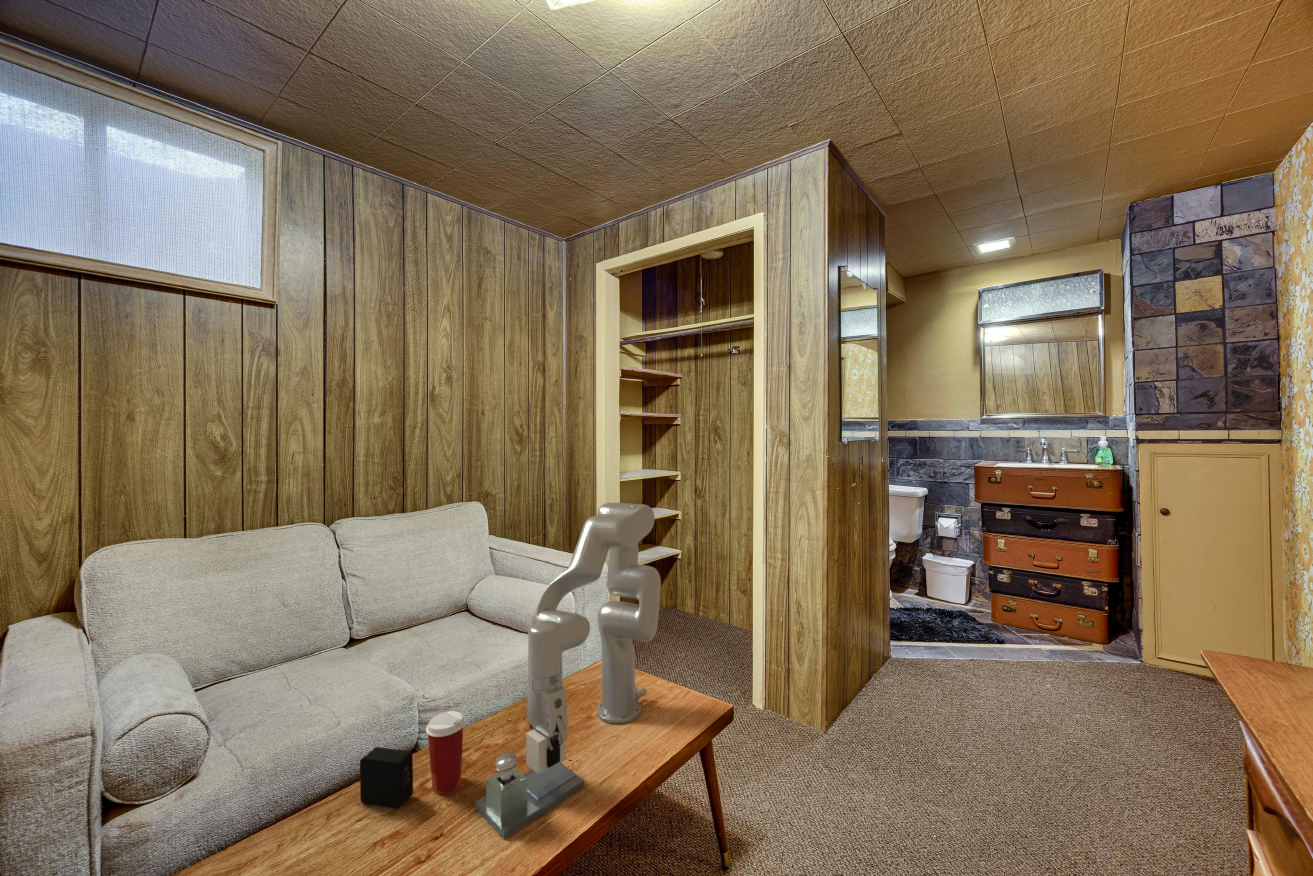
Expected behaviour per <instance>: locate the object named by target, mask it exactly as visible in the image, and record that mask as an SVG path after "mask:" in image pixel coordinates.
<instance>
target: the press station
mask: <svg viewBox="0 0 1313 876" xmlns="http://www.w3.org/2000/svg"><path fill="white" fill-rule="evenodd" d="M584 787H585V779H584V778H582V777H581V776H579V775H578V774H577V773H575V772H574V771H572V770H571V769H570V768H569V767H567V766H566V765H565V764H563V763H562V762H560V763H558V764H556V765H554V766H553V767H551V768H549V769H547V770H546V771H544V772H542V773H540V774H538V773H537V772H535V771H534V770H533V769H532V768H531V769H530V770H528V771H526V772H525V773H522V772H520V770H518V769H517V768H516V766H515V767H514V768H513V769H512V781H511V782H509V783H507V784H506V785H504V786H503V785H502V784H501V771H498V772H496V773H495V774H493V775H491V776H490V777H487V778H486V779H485V790H486V791H485V792H486V793H485V794H486V795H485V796H483V797H480V798H479V799H477V800H476V801H475V802H474V804H475V807H474V808H475V810H476V811H477V812H478V813H479V814H480V815H481V816H482V818H483V819H484V820H485V821H486V822H487V823H488V825H490V826H491V827H492V828H493V830H495V832H496V833H498V835H499V836H500V837H501V838H502V839H503V840H505V839H507V838H508V837H510V836H512V835H514V833H516V832H518V831H519V830H521V829H522V828H524V827H525V826H527V825H528V824H530V823H532V822H533V821H535V820H536V819H537V818H539V817H540V816H543V815H544V814H545V813H547V812H548V811H550V810H551V809H553V808H554V807H556V806H557V805H559V804H561V803H562V802H564V801H565V800H566V799H568V798H570V797H571V796H573V795H574V794H576V793H577V792H579V791H580V790H581V789H583V788H584Z"/></svg>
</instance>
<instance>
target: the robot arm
mask: <svg viewBox="0 0 1313 876" xmlns="http://www.w3.org/2000/svg"><path fill="white" fill-rule="evenodd" d="M654 525H655V511H654V510H653V509H652V508H651V506H649V505H646V504H644V503H643V504H642V503H628V502H627V503H626V502H607V503H604V504H601V505H600V506H599V507H598V510H597V515H593V516H590V517H589V518H588V519H587V518H586V520H585V522H584V524H583V527H582V529H581V532H580V534H579V537H578V540H577V543H576V546H575V549H574V552H573V554H572V556H571V560H570V562H569V565H568V567H567V568H565V570H563V571H562V572H561V573H560V574H558V576H556V577H555V578H554V579H553V580H552V581H551V583H549V584H548V585H547V587H546V588H545V589H544V590H543V591H542V593H541V596H540V597H539V600H538V602H537V605H536V608H535V610H534V613H533V617H532V622H531V626H530V627H529V629H528V633H527V636H528V637H527V639H528V640H527V641H528V644H527V647H528V650H527V652H528V658H527V659H528V661H527V662H528V665H527V666H528V689H527V699H526V700H527V701H526V714H525V717H526V719H527V722H528V725H529V728H530V731H532V730H534V729H537V730H538V731H540V732H541V733H543V734H544V735H546V736H547V741H548V749H547V767H548V768H550V767H552V766H553V765H555V764H557V763H559V762H560V746H561V745H562V743H563V742H564V741H565V742H566V741H567V740H568V736H567V733H566V730H568V726H569V725H568V722H569V721H568V706H567V697H566V691H565V687H564V686H563V652H565V651H568V650H572V649H575V648H577V647H579V646H581V645H582V644H584V642H585V641H586V640H587V638H588V637H589V635H590V631H591V625H590V621H589V620H588V619H587V617H586V616H584V615H582V614H580V613H575V612H568V611H563V610H557V609H558V607H559V604H560V603H561V601H562V600H563V599H564V598H565V597H566V596H567V595H568V594H570V593H571V592H572V591H574V590H576V589H579V588H581V587H583V586H586V585H589V584H592V583H594V582H596V581H598V580H599V579H600V578H601V575H602V571H603V569H604V565H605V563H606V560H607V556H608V553H609V556H608V557H609V559H608V567H607V575H606V577H607V578H606V589H607V591H608V593H609V594H611V595H613V596H615V597H621V598H625V599H626V598H627V599H635V600H638V603H632V602H627V601H619V600H611V601H607V602H604V603H603V604H602V605H601V607H599V610H598V612H597V625H598V631H599V635H600V643H601V690H602V691H601V693H602V694H601V696H602V698H601V702H600V703H599V704H598V706H597V708H596V712H597V714H596V715H597V717H598V718H599V719H600V720H601V721H603V722H605V723H609V724H625V723H629V722H632V721H633V720H635V719H637V718H639V716H640V715H641V712H642V707H641V703H640V702H639V700H640V698H641V697H643V696H645V695H648V694H647V693H648V691H647V689H646V687H642V688H640V689H639V690H638V688H637V687H636V659H635V658H636V653H635V647H634V642H633V641H639V642H650V641H652V640H653V638H654V637H655V635H656V633H657V630H658V626H659V625H658V624H659V616H660V615H659V613H660V602H661V589H662V581H661V575H660V573H659V571H658V569H656V568H655V567H653V566H650V565H643V564H639V542H640V541H642V540H643V539H644V538H646V536H648V534H649V533H651V531H652V529H653V527H654ZM555 735H556V740H554V741H553V742H552V737H553V736H555ZM560 763H561V762H560Z"/></svg>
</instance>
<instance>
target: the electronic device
mask: <svg viewBox="0 0 1313 876" xmlns="http://www.w3.org/2000/svg"><path fill="white" fill-rule="evenodd" d="M413 757H414V756H413V753H412V752H411V751H409V750H403V749H394V748H386V747H385V748H384V747H381V746H379V747H375V748H373V749H370V750H369V751H368V753H367V754H364V755H363V757H362V758H360V761H359V783H360V785H359V787H360V788H359V789H360V797H359V798H360V802H361V803H362V804H363V803H366V804H365V805H368V804H370V805H369V806H374V805H375V806H374V807H380V806H381V807H382V808H388V809H395V810H399V809H400V808H401V807H403V805H404V804H405V803H406V802H407V801H408V800H409V799H410V797H412V796H413V795H414V773H413V772H414V763H413Z"/></svg>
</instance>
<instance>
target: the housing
mask: <svg viewBox="0 0 1313 876" xmlns="http://www.w3.org/2000/svg"><path fill="white" fill-rule="evenodd" d="M525 738H526V739H525V747H526V748H525V749H526V750H525V752H526V753H525V755H526V757H525V758H526V759H525V760H526V761H525V762H526V765H527V766H528V767H529V768H531V770H532V769H533V770H534V771H535V772H537V773H538V774H540V773H542V772H544V771H546V770H547V769H549V768H548V767H547V749H548V741H547V736H546V735H544V734H543V733H541V732H540V731H538V730H537V729H534V730H532V731H531V730H530V731H528V732H526V734H525ZM554 740H556V735H555V736H553V737H552V742H553V741H554ZM565 760H566V741H564V742H563V743H562V745H561V746H560V762H559V763H562V762H563V761H565ZM557 764H558V763H557ZM555 765H556V764H555ZM553 766H554V765H553ZM553 766H552V767H553ZM550 768H551V767H550Z"/></svg>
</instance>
